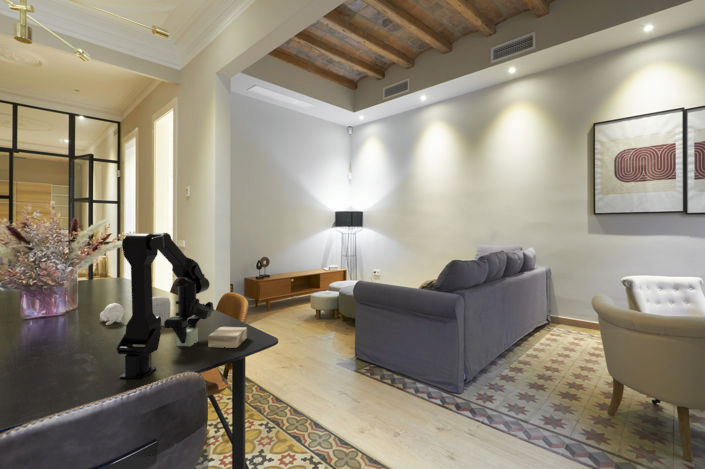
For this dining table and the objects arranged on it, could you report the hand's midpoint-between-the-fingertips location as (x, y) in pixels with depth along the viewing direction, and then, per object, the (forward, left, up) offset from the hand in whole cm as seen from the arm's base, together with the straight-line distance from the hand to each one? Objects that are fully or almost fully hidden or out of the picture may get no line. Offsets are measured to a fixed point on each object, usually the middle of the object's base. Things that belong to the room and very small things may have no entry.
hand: (187, 340), depth 117 cm
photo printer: (+18, +23, -1) cm, 29 cm away
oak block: (+2, -14, -1) cm, 14 cm away
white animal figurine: (+22, +46, -1) cm, 51 cm away
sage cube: (0, 0, -1) cm, 1 cm away
